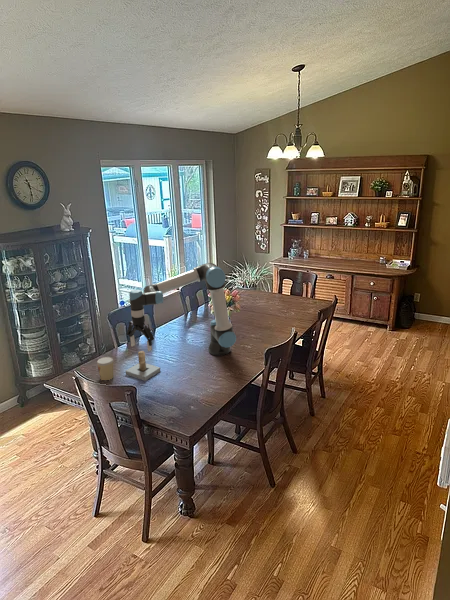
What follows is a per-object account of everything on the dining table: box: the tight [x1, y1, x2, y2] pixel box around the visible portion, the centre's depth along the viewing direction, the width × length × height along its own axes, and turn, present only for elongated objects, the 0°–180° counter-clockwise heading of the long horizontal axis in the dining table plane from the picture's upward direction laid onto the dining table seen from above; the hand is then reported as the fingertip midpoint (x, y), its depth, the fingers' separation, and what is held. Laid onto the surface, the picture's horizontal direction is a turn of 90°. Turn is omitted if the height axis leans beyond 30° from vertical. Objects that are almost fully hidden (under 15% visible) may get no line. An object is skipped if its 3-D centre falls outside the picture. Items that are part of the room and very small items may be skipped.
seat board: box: [125, 362, 161, 382], centre depth 253 cm, size 16×14×2 cm
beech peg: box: [137, 350, 146, 372], centre depth 252 cm, size 4×4×14 cm
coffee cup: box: [96, 356, 114, 381], centre depth 247 cm, size 9×9×12 cm
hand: (141, 348), depth 249 cm, fingers open, 13 cm apart
